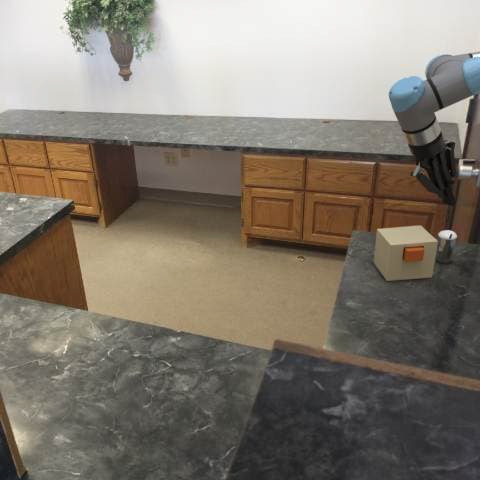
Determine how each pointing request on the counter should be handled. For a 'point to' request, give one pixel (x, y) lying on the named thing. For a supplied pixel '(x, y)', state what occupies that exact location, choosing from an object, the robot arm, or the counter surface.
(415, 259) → the orange block
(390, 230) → the beige box with handle
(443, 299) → the counter surface
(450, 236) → the milkshake
